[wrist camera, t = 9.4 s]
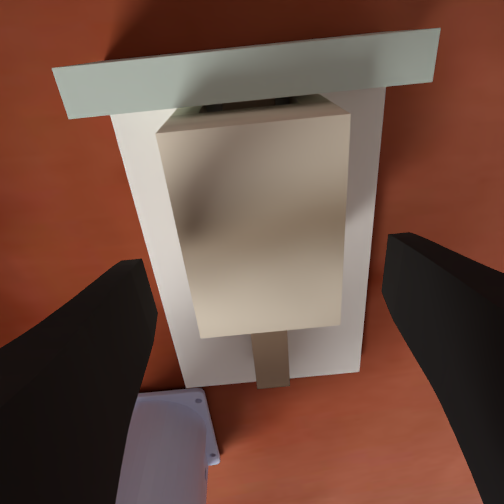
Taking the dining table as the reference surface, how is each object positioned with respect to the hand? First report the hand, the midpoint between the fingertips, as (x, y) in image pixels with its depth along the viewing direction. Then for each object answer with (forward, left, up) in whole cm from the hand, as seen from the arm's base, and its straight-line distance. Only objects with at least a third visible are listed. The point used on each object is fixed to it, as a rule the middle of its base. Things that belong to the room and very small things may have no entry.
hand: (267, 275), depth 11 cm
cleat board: (-4, 0, -9) cm, 10 cm away
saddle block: (0, 0, -8) cm, 8 cm away
